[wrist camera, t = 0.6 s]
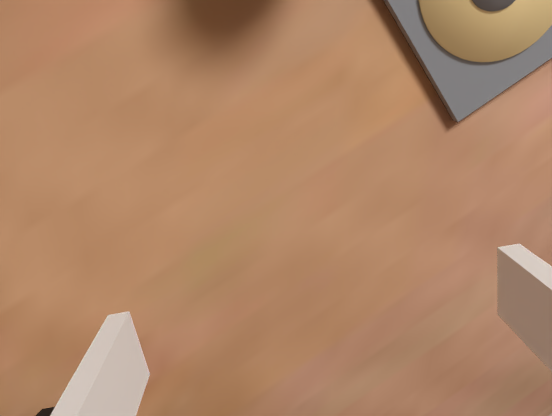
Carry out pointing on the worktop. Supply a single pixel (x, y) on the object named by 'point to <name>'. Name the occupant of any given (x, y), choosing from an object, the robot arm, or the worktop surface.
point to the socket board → (475, 45)
